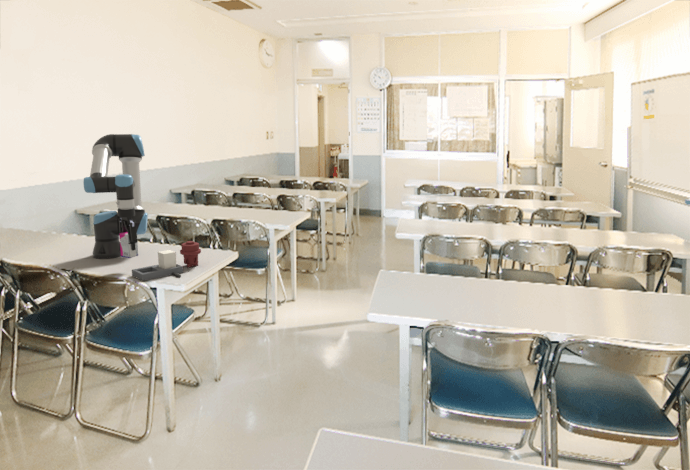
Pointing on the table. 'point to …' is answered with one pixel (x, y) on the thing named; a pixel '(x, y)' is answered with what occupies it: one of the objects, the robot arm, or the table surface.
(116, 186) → the robot arm
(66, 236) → the table surface
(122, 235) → the supplement box
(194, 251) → the mechanical component
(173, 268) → the grey double recess tray
